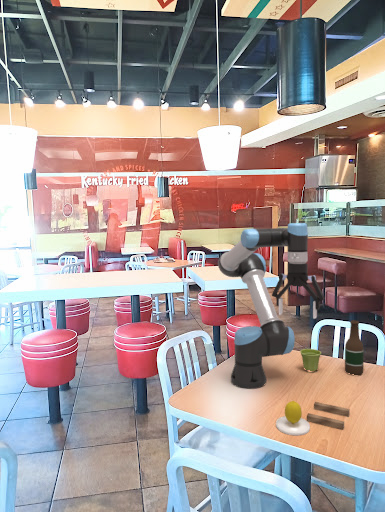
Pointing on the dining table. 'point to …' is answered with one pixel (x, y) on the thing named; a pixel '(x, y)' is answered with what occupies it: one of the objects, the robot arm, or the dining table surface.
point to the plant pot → (310, 359)
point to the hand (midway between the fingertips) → (297, 316)
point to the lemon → (293, 412)
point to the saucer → (292, 426)
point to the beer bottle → (354, 351)
